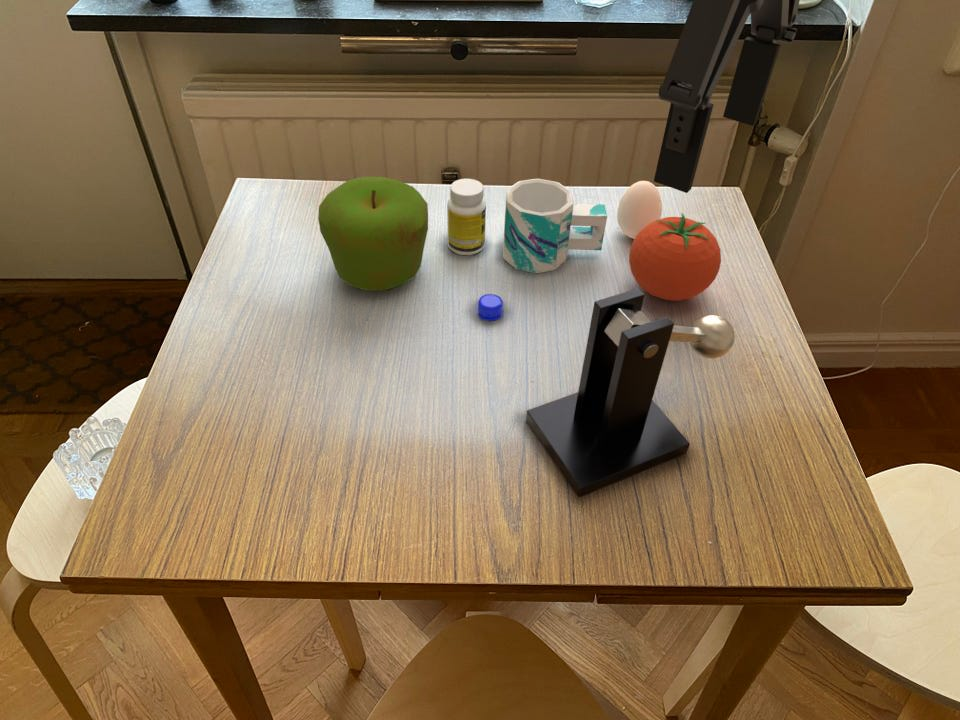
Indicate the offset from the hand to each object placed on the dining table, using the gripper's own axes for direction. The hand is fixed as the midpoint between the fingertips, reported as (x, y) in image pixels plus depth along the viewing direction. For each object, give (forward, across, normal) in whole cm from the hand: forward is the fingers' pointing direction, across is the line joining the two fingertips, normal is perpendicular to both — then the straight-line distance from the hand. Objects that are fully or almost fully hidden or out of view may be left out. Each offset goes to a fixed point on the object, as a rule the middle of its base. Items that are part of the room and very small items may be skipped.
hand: (708, 150), depth 57 cm
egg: (+26, -22, -13) cm, 36 cm away
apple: (+26, +4, -34) cm, 43 cm away
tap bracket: (+26, +10, 0) cm, 28 cm away
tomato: (+26, -14, -4) cm, 29 cm away
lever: (+16, +7, +3) cm, 17 cm away
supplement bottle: (+26, -7, -29) cm, 39 cm away
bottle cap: (+26, +2, -19) cm, 32 cm away
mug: (+26, -12, -19) cm, 34 cm away
